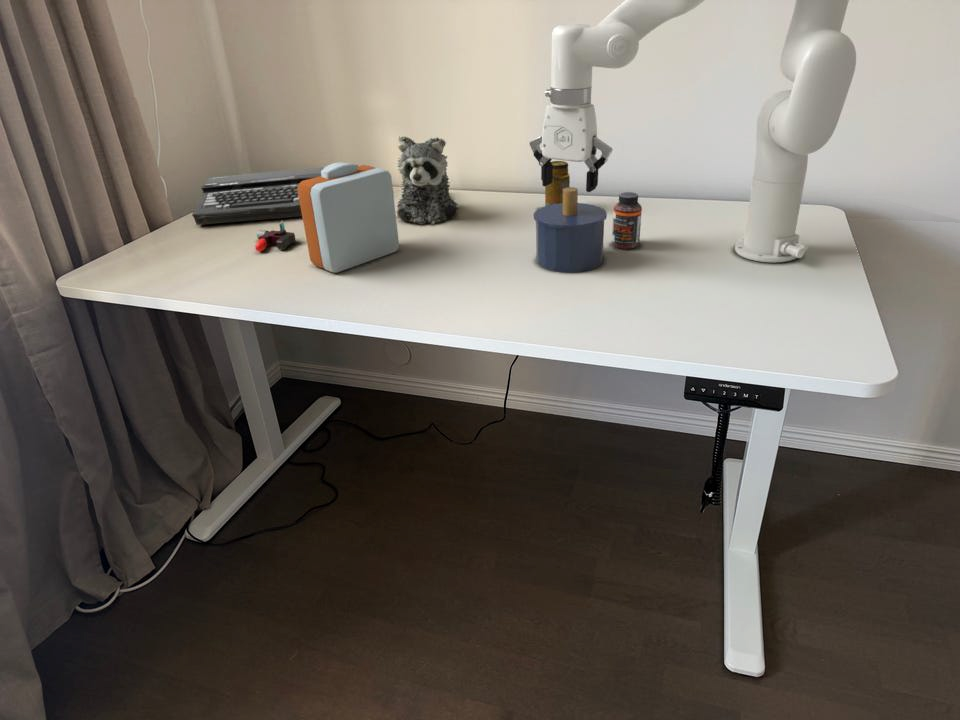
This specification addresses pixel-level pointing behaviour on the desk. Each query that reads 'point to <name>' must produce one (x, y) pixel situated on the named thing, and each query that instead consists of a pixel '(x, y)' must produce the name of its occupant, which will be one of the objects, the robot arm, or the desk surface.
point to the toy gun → (275, 238)
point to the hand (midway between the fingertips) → (568, 187)
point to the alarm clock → (348, 215)
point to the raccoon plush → (424, 182)
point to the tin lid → (570, 212)
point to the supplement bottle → (626, 221)
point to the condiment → (557, 183)
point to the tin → (569, 247)
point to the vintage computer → (252, 196)
